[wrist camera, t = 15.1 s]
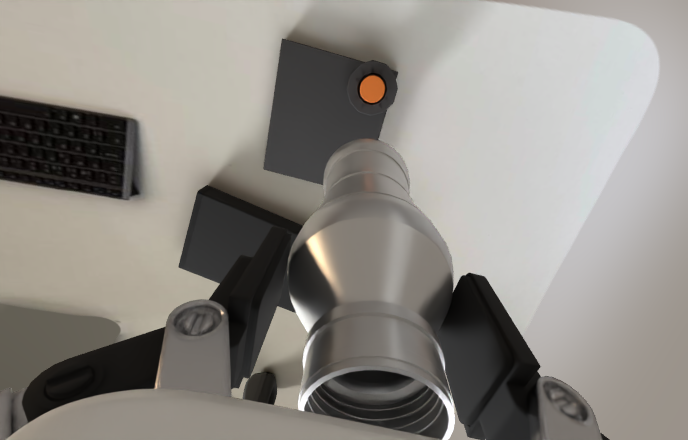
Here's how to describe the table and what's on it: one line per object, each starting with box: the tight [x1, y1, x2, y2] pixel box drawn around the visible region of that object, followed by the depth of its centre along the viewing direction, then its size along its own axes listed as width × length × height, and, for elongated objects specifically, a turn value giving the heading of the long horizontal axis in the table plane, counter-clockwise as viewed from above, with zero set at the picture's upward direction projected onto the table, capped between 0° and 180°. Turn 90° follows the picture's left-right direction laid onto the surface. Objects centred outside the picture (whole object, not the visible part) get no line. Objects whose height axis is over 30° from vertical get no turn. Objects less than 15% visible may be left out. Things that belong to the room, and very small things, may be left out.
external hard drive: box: [179, 185, 303, 313], centre depth 47 cm, size 14×23×3 cm, turn 65°
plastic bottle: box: [287, 139, 455, 440], centre depth 16 cm, size 6×7×20 cm
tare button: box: [360, 75, 385, 103], centre depth 34 cm, size 3×3×2 cm
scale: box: [264, 39, 398, 185], centre depth 38 cm, size 16×14×3 cm
